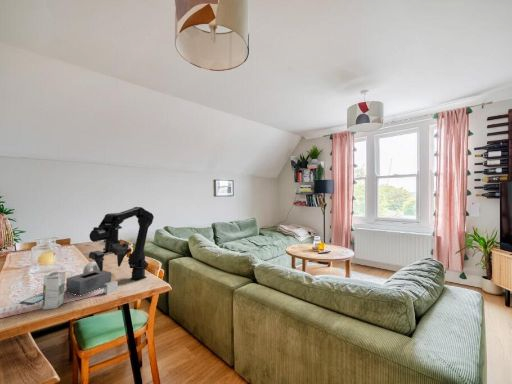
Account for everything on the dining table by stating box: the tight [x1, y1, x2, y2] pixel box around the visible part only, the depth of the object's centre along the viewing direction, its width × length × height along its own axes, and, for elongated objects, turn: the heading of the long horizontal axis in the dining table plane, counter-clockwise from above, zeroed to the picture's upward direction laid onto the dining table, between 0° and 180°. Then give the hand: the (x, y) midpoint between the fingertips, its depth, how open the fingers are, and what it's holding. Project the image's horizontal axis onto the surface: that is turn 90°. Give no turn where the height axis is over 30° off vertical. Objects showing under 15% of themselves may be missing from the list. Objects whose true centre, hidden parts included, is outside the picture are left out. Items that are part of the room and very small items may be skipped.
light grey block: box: [103, 280, 119, 295], centre depth 122 cm, size 6×2×5 cm, turn 156°
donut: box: [82, 260, 99, 274], centre depth 139 cm, size 10×4×10 cm, turn 170°
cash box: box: [65, 269, 112, 297], centre depth 125 cm, size 16×11×7 cm
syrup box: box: [41, 271, 66, 311], centre depth 105 cm, size 6×6×14 cm
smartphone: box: [19, 292, 43, 306], centre depth 114 cm, size 7×1×15 cm
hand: (110, 268), depth 121 cm, fingers open, 9 cm apart
